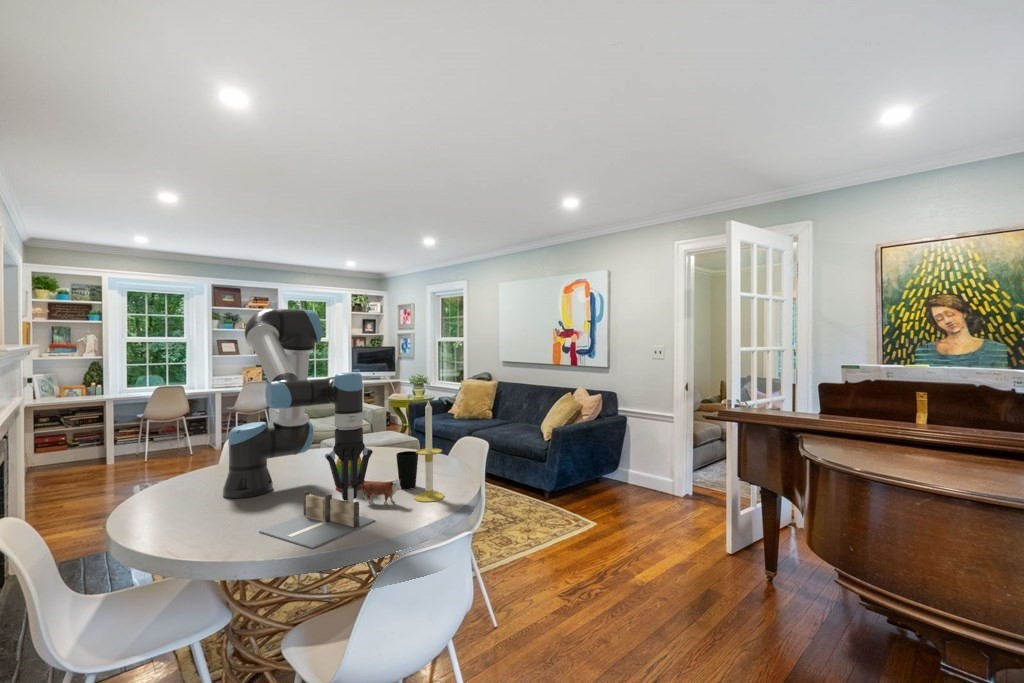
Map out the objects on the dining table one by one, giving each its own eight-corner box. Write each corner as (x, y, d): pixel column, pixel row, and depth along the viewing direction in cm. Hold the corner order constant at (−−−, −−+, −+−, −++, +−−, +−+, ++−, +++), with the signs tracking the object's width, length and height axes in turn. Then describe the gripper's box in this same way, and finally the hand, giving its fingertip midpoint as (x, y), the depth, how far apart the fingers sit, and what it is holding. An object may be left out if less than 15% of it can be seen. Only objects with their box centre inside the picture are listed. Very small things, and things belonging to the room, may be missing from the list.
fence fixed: (302, 515, 140) (301, 490, 140) (307, 513, 141) (307, 489, 141) (328, 522, 134) (328, 496, 134) (333, 520, 136) (333, 494, 136)
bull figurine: (399, 507, 147) (399, 481, 147) (360, 504, 150) (360, 479, 150) (405, 502, 151) (405, 477, 151) (367, 500, 154) (366, 475, 154)
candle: (443, 501, 152) (442, 400, 152) (412, 502, 151) (411, 401, 151) (445, 492, 162) (444, 397, 162) (415, 493, 161) (415, 398, 161)
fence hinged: (330, 520, 134) (329, 497, 134) (334, 519, 135) (334, 496, 135) (356, 527, 128) (356, 503, 128) (360, 526, 130) (360, 502, 130)
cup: (423, 486, 169) (422, 452, 169) (407, 491, 163) (407, 457, 163) (407, 482, 173) (407, 450, 173) (391, 488, 167) (391, 454, 167)
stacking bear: (371, 485, 170) (371, 436, 170) (351, 493, 161) (350, 441, 161) (348, 482, 175) (348, 434, 175) (327, 489, 166) (327, 439, 166)
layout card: (259, 532, 128) (259, 530, 128) (324, 508, 147) (324, 507, 147) (312, 549, 117) (312, 547, 117) (375, 521, 136) (375, 519, 136)
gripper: (327, 432, 127) (328, 519, 127) (375, 426, 134) (376, 509, 134) (321, 428, 133) (322, 511, 133) (367, 423, 140) (368, 502, 140)
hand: (349, 510), depth 134 cm, fingers closed
